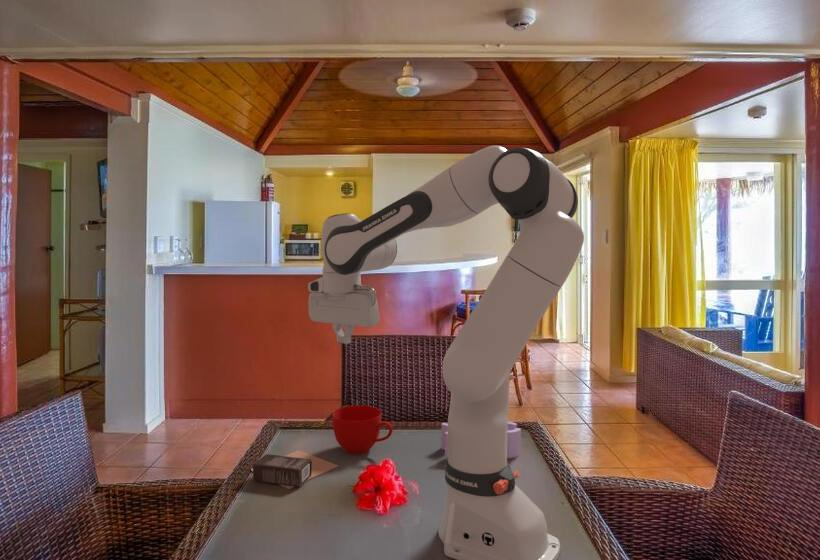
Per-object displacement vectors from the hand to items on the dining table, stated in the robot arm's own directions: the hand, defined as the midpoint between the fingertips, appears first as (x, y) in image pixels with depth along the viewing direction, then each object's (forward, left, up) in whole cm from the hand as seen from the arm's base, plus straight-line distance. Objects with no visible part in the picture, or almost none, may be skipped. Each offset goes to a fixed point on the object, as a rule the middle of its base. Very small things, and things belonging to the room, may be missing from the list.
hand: (344, 342), depth 125 cm
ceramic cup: (+5, -12, -32) cm, 34 cm away
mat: (+11, +7, -31) cm, 34 cm away
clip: (-19, -31, -32) cm, 48 cm away
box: (+3, +10, -29) cm, 31 cm away
